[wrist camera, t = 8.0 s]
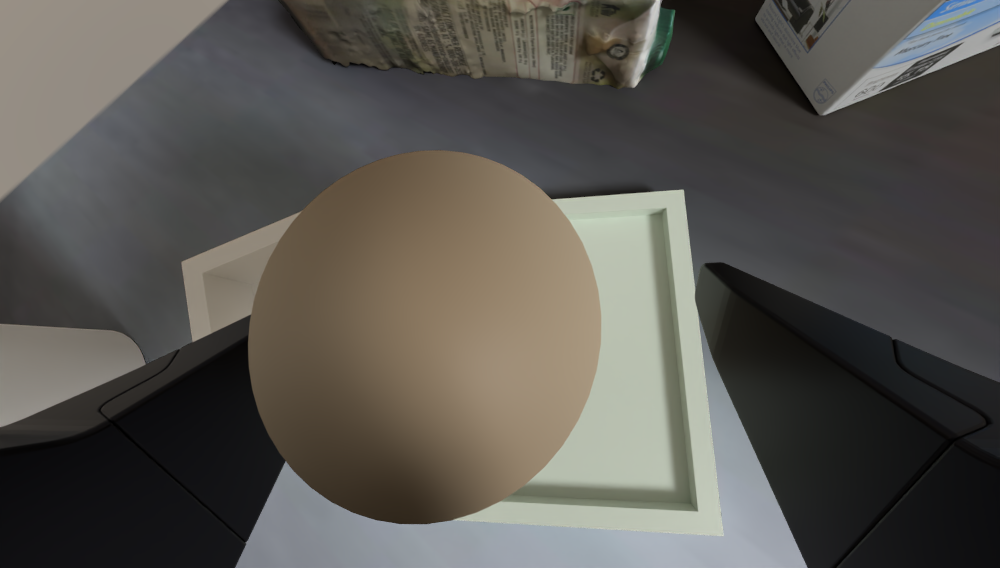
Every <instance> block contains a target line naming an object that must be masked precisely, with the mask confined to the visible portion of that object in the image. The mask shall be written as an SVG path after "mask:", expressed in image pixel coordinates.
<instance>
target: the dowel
mask: <svg viewBox="0 0 1000 568" xmlns="http://www.w3.org/2000/svg"><path fill="white" fill-rule="evenodd" d="M600 346H601V308H600V300H599V292H598V287H597V283H596V279H595V276H594V272H593V268H592V265H591V262H590V260H589V257H588V255H587V252H586V250H585V248H584V245H583V243H582V241H581V239H580V238H579V236H578V234H577V233H576V231H575V229H574V227H573V226H572V224H571V222H570V221H569V220H568V218H567V217H566V216H565V215H564V213H563V212H562V211H561V210H560V208H559V207H558V206H557V204H556V203H555V202H554V201H553V200H552V199H551V198H550V197H548V196H547V195H546V194H545V193H544V192H543V191H542V190H541V189H540V188H539V187H538V186H536V185H535V184H533V183H532V182H531V181H529V180H528V179H527V178H525V177H524V176H522V175H521V174H519V173H517V172H515V171H513V170H512V169H510V168H508V167H506V166H504V165H502V164H500V163H497V162H494V161H492V160H489V159H486V158H483V157H480V156H476V155H471V154H467V153H462V152H453V151H442V150H434V151H416V152H410V153H404V154H398V155H394V156H391V157H387V158H384V159H380V160H377V161H375V162H373V163H370V164H368V165H365V166H363V167H361V168H358V169H357V170H355V171H353V172H351V173H349V174H348V175H346V176H344V177H342V178H341V179H339V180H338V181H336V182H335V183H334V184H332V185H331V186H329V187H328V188H327V189H325V190H324V191H323V192H321V193H320V194H319V195H318V196H317V197H316V198H315V199H314V200H313V201H311V202H310V203H309V204H308V205H307V206H306V207H305V208H304V209H303V211H302V212H301V213H300V214H299V215H298V216H297V217H296V218H295V220H294V221H293V222H292V223H291V225H290V226H289V227H288V229H287V230H286V232H285V233H284V234H283V236H282V237H281V239H280V240H279V242H278V244H277V246H276V247H275V249H274V251H273V253H272V254H271V256H270V258H269V260H268V262H267V265H266V267H265V269H264V272H263V274H262V276H261V279H260V282H259V285H258V288H257V292H256V295H255V298H254V302H253V308H252V313H251V318H250V325H249V338H248V358H249V371H250V378H251V384H252V390H253V394H254V397H255V401H256V404H257V408H258V411H259V414H260V416H261V419H262V421H263V423H264V426H265V428H266V430H267V433H268V434H269V436H270V438H271V440H272V441H273V443H274V445H275V446H276V448H277V450H278V451H279V453H280V454H281V456H282V457H283V458H284V459H285V461H286V462H287V463H288V464H289V466H290V467H291V468H292V469H293V471H294V472H295V473H296V474H297V475H298V476H299V477H300V478H301V479H303V480H304V481H305V482H306V483H307V484H308V485H309V486H310V487H311V488H312V489H314V490H315V491H317V492H318V493H319V494H321V495H322V496H324V497H325V498H326V499H328V500H329V501H331V502H333V503H335V504H337V505H339V506H341V507H343V508H345V509H347V510H349V511H351V512H353V513H356V514H359V515H362V516H365V517H368V518H371V519H374V520H379V521H385V522H392V523H398V524H430V523H437V522H443V521H450V520H454V519H458V518H461V517H464V516H467V515H471V514H474V513H477V512H479V511H481V510H483V509H485V508H488V507H490V506H492V505H494V504H496V503H498V502H500V501H502V500H503V499H505V498H506V497H508V496H509V495H511V494H512V493H514V492H515V491H517V490H518V489H520V488H521V487H523V486H524V485H525V484H527V483H528V482H529V481H530V480H531V479H532V478H533V477H534V476H535V475H536V474H538V473H539V472H540V471H541V470H542V469H543V468H544V467H545V466H546V465H547V464H548V463H549V461H550V460H551V459H552V458H553V457H554V455H555V454H556V453H557V452H558V451H559V449H560V448H561V447H562V446H563V444H564V443H565V441H566V440H567V438H568V436H569V435H570V433H571V431H572V430H573V428H574V427H575V425H576V423H577V422H578V420H579V418H580V415H581V413H582V411H583V409H584V406H585V404H586V402H587V400H588V397H589V395H590V391H591V388H592V385H593V381H594V378H595V374H596V371H597V366H598V359H599V352H600Z"/></svg>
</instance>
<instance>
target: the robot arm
mask: <svg viewBox="0 0 1000 568" xmlns="http://www.w3.org/2000/svg"><path fill="white" fill-rule="evenodd" d="M695 303H696V306H697V310H698V313H699V316H700V320H701V323H702V326H703V329H704V333H705V336H706V339H707V343H708V346H709V349H710V352H711V355H712V358H713V360H714V363H715V365H716V367H717V370H718V372H719V374H720V376H721V378H722V381H723V383H724V385H725V387H726V389H727V392H728V394H729V396H730V398H731V400H732V403H733V405H734V407H735V409H736V411H737V414H738V416H739V418H740V420H741V422H742V425H743V427H744V429H745V431H746V433H747V436H748V438H749V440H750V442H751V444H752V447H753V449H754V451H755V453H756V455H757V458H758V460H759V462H760V464H761V466H762V469H763V471H764V473H765V475H766V477H767V480H768V482H769V484H770V486H771V488H772V491H773V493H774V495H775V497H776V499H777V502H778V504H779V506H780V508H781V510H782V513H783V515H784V517H785V519H786V521H787V524H788V526H789V528H790V530H791V532H792V535H793V537H794V539H795V541H796V543H797V546H798V548H799V550H800V552H801V554H802V557H803V559H804V561H805V563H806V565H807V568H1000V383H999V382H997V381H994V380H992V379H989V378H987V377H984V376H982V375H979V374H977V373H974V372H972V371H969V370H967V369H964V368H962V367H959V366H957V365H955V364H952V363H950V362H948V361H945V360H943V359H941V358H938V357H936V356H934V355H931V354H929V353H927V352H924V351H922V350H920V349H917V348H915V347H913V346H911V345H908V344H906V343H904V342H902V341H899V340H897V339H894V340H892V338H891V337H890V336H888V335H886V334H883V333H881V332H879V331H877V330H874V329H872V328H870V327H868V326H865V325H863V324H861V323H858V322H856V321H854V320H852V319H849V318H847V317H845V316H843V315H840V314H838V313H836V312H834V311H831V310H829V309H827V308H825V307H822V306H820V305H818V304H815V303H813V302H811V301H809V300H806V299H804V298H802V297H800V296H797V295H795V294H793V293H791V292H788V291H786V290H784V289H782V288H779V287H777V286H775V285H773V284H770V283H768V282H766V281H764V280H761V279H759V278H757V277H754V276H752V275H750V274H748V273H745V272H743V271H741V270H739V269H736V268H734V267H732V266H730V265H727V264H725V263H721V262H718V263H705V264H703V265H702V266H701V268H700V272H699V276H698V281H697V286H696V291H695ZM250 318H251V315H249V316H246V317H244V318H242V319H240V320H238V321H236V322H234V323H232V324H230V325H228V326H226V327H224V328H221V329H219V330H217V331H215V332H213V333H211V334H209V335H207V336H205V337H203V338H201V339H198V340H196V341H194V342H192V343H190V344H188V345H186V346H184V347H182V348H181V349H180V350H179V349H178V350H175V351H173V352H171V353H169V354H167V355H165V356H163V357H161V358H159V359H156V360H154V361H152V362H150V363H148V364H146V365H144V366H141V367H139V368H137V369H135V370H133V371H131V372H128V373H126V374H124V375H122V376H120V377H117V378H115V379H113V380H111V381H108V382H106V383H104V384H102V385H99V386H97V387H95V388H93V389H90V390H88V391H86V392H83V393H81V394H79V395H77V396H74V397H72V398H70V399H67V400H65V401H63V402H61V403H58V404H56V405H54V406H51V407H49V408H47V409H45V410H42V411H40V412H38V413H35V414H33V415H31V416H29V417H26V418H24V419H21V420H19V421H16V422H14V423H11V424H9V425H6V426H3V427H0V568H235V567H236V565H237V562H238V560H239V558H240V556H241V554H242V552H243V550H244V548H245V546H246V543H245V542H247V541H248V539H249V537H250V535H251V533H252V530H253V528H254V526H255V524H256V522H257V520H258V518H259V516H260V514H261V512H262V509H263V507H264V505H265V503H266V501H267V499H268V497H269V495H270V493H271V491H272V489H273V486H274V484H275V482H276V480H277V478H278V476H279V474H280V472H281V470H282V468H283V466H284V463H285V459H284V458H283V457H282V456H281V454H280V453H279V451H278V450H277V448H276V446H275V445H274V443H273V441H272V440H271V438H270V436H269V434H268V433H267V430H266V428H265V426H264V423H263V421H262V419H261V416H260V414H259V411H258V408H257V404H256V401H255V397H254V394H253V390H252V384H251V378H250V371H249V358H248V338H249V325H250Z"/></svg>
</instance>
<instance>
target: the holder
mask: <svg viewBox="0 0 1000 568" xmlns="http://www.w3.org/2000/svg"><path fill="white" fill-rule="evenodd" d="M301 212H302V211H301ZM301 212H299V213H296V214H294V215H291V216H289V217H287V218H284V219H282V220H280V221H277V222H275V223H272V224H270V225H268V226H265V227H263V228H261V229H258V230H256V231H253V232H251V233H249V234H246V235H244V236H242V237H239V238H237V239H234V240H232V241H230V242H227V243H225V244H223V245H220V246H218V247H215V248H213V249H211V250H208V251H206V252H203V253H201V254H199V255H196V256H194V257H192V258H189V259H187V260H184V261H182V262H181V263H182V270H183V277H184V284H185V292H186V299H187V306H188V313H189V320H190V327H191V334H192V341H193V342H194V341H196V340H198V339H201V338H203V337H205V336H207V335H209V334H211V333H213V332H215V331H217V330H219V329H221V328H224V327H226V326H228V325H230V324H232V323H234V322H236V321H238V320H240V319H242V318H244V317H246V316H249V315H251V313H252V308H253V302H254V298H255V295H256V292H257V288H258V285H259V282H260V279H261V276H262V274H263V272H264V269H265V267H266V265H267V262H268V260H269V258H270V256H271V254H272V253H273V251H274V249H275V247H276V246H277V244H278V242H279V240H280V239H281V237H282V236H283V234H284V233H285V232H286V230H287V229H288V227H289V226H290V225H291V223H292V222H293V221H294V220H295V218H296V217H297V216H298V215H299V214H300V213H301Z"/></svg>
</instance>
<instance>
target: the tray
mask: <svg viewBox="0 0 1000 568" xmlns="http://www.w3.org/2000/svg"><path fill="white" fill-rule="evenodd" d="M552 200H553V201H554V202H555V203H556V204H557V206H558V207H559V208H560V210H561V211H562V212H563V213H564V215H565V216H566V217H567V218H568V220H569V221H570V222H571V224H572V226H573V227H574V229H575V231H576V233H577V234H578V236H579V238H580V239H581V241H582V243H583V245H584V248H585V250H586V252H587V255H588V257H589V260H590V262H591V265H592V268H593V272H594V276H595V279H596V283H597V287H598V292H599V300H600V308H601V346H600V352H599V359H598V366H597V371H596V374H595V378H594V381H593V385H592V388H591V391H590V395H589V397H588V400H587V402H586V404H585V406H584V409H583V411H582V413H581V415H580V418H579V420H578V422H577V423H576V425H575V427H574V428H573V430H572V431H571V433H570V435H569V436H568V438H567V440H566V441H565V443H564V444H563V446H562V447H561V448H560V449H559V451H558V452H557V453H556V454H555V455H554V457H553V458H552V459H551V460H550V461H549V463H548V464H547V465H546V466H545V467H544V468H543V469H542V470H541V471H540V472H539V473H538V474H536V475H535V476H534V477H533V478H532V479H531V480H530V481H529V482H528V483H527V484H525V485H524V486H523V487H521V488H520V489H518V490H517V491H515V492H514V493H512V494H511V495H509V496H508V497H506V498H505V499H503V500H502V501H500V502H498V503H496V504H494V505H492V506H490V507H488V508H485V509H483V510H481V511H479V512H477V513H474V514H471V515H467V516H464V517H461V518H458V519H454V520H461V521H477V522H494V523H511V524H527V525H544V526H561V527H577V528H594V529H611V530H628V531H644V532H661V533H678V534H694V535H711V536H723V527H722V519H721V510H720V501H719V493H718V484H717V475H716V467H715V458H714V449H713V441H712V432H711V423H710V415H709V406H708V397H707V389H706V380H705V371H704V363H703V354H702V345H701V337H700V328H699V319H698V311H697V306H696V303H695V285H694V276H693V268H692V259H691V250H690V242H689V233H688V224H687V216H686V207H685V198H684V190H673V191H659V192H646V193H632V194H619V195H605V196H592V197H579V198H565V199H552Z"/></svg>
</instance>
